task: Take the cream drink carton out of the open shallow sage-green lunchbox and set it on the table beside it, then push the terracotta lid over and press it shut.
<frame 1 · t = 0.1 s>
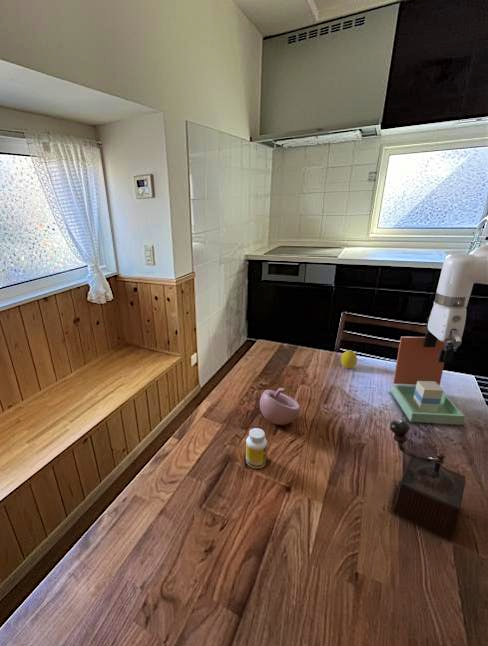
hand: (436, 354, 100), 18 cm above the table, tool pointing down, fingers open, 9 cm apart
lunchbox lid: (420, 361, 108), point 12 cm above the table, hinge at 95.4°
mortar and pestle: (278, 420, 106), on the table
supplement bottle: (256, 461, 91), on the table
manual coffee grinder: (410, 503, 77), on the table
lunchbox: (423, 409, 106), on the table
lemon: (347, 369, 131), on the table
drink carton: (424, 406, 106), point 1 cm above the table, touching lunchbox
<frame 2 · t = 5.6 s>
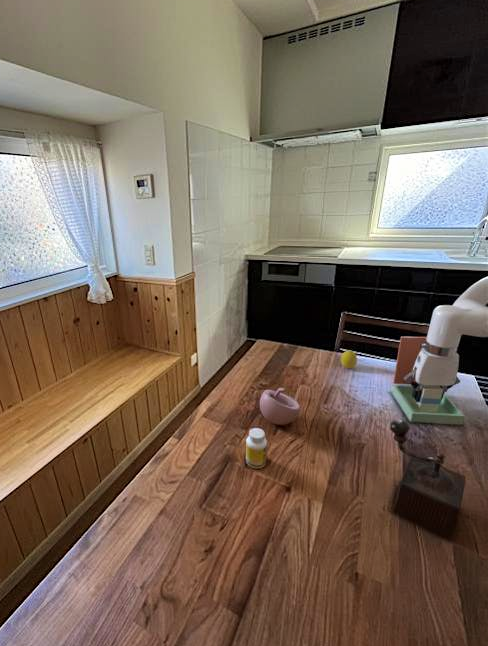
hand: (426, 399, 104), 4 cm above the table, tool pointing down, fingers closed on drink carton, 5 cm apart
drink carton: (424, 406, 106), point 1 cm above the table, touching gripper, lunchbox
everything else where it was.
when the fingers open (3 cm above the table, at t = 12.3 s): drink carton stays where it is, on the table.
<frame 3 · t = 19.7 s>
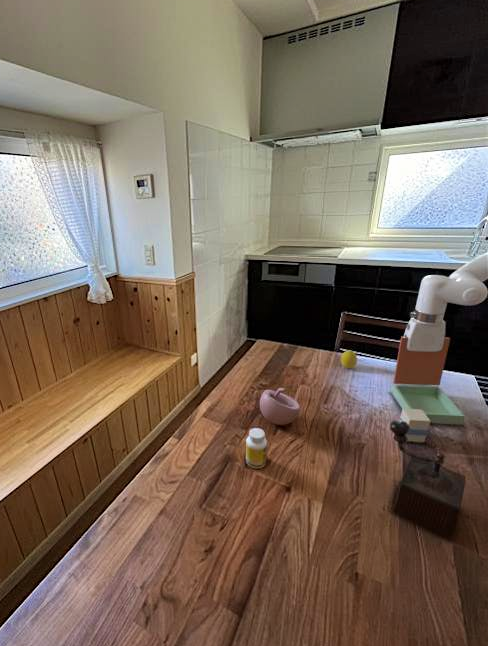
hand: (415, 367, 111), 9 cm above the table, tool pointing down, fingers closed
lunchbox lid: (420, 361, 108), point 12 cm above the table, hinge at 94.5°, touching gripper
drink carton: (410, 437, 95), on the table
everything else where it was.
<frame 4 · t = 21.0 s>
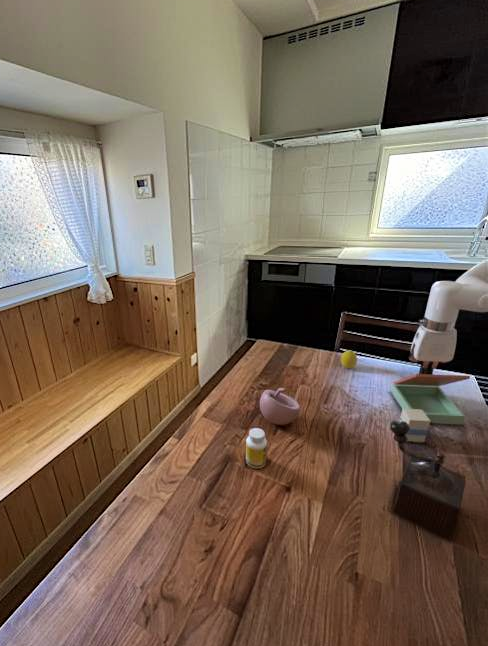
hand: (424, 377, 106), 9 cm above the table, tool pointing down, fingers closed
lunchbox lid: (428, 380, 103), point 10 cm above the table, hinge at 40.5°, touching gripper
everything else where it was.
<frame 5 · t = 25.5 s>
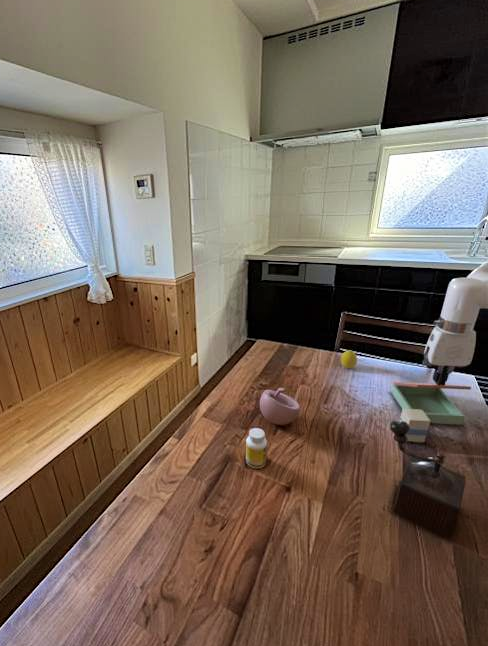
hand: (438, 382, 97), 12 cm above the table, tool pointing down, fingers closed
lunchbox lid: (428, 385, 103), point 8 cm above the table, hinge at 29.9°, touching gripper
everything else where it was.
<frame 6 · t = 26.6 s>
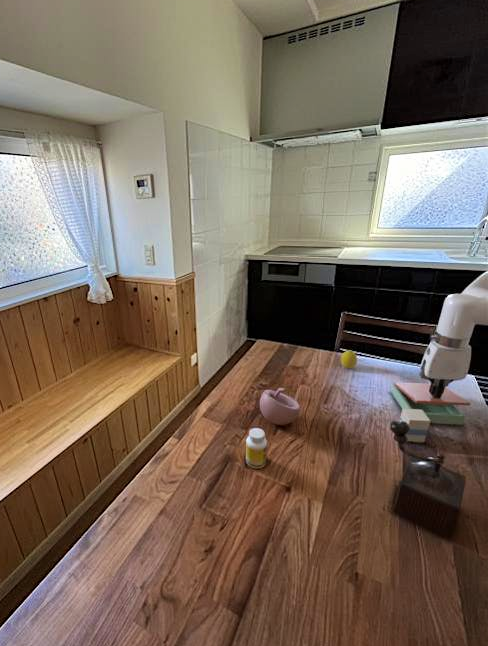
hand: (434, 395, 99), 8 cm above the table, tool pointing down, fingers closed
lunchbox lid: (428, 392, 103), point 6 cm above the table, hinge at 13.9°, touching gripper
everything else where it was.
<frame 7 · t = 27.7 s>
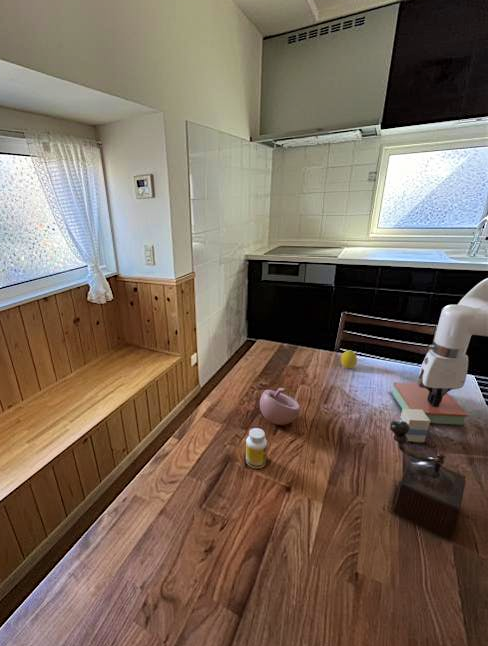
hand: (433, 403, 100), 5 cm above the table, tool pointing down, fingers closed
lunchbox lid: (427, 398, 104), point 4 cm above the table, hinge at 1.1°, touching gripper
everything else where it was.
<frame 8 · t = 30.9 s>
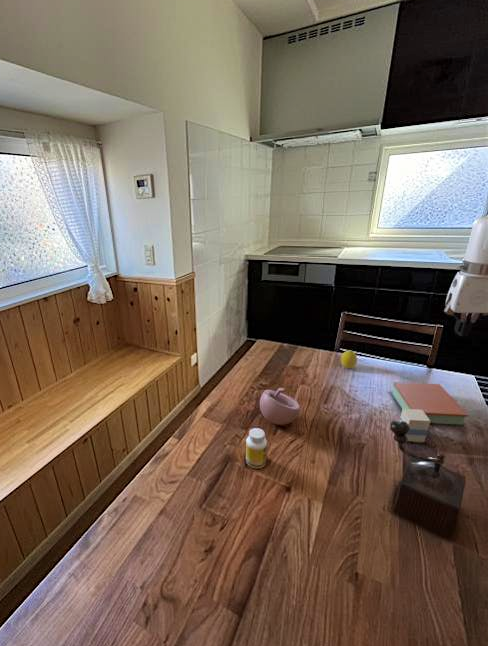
hand: (460, 333, 92), 27 cm above the table, tool pointing down, fingers closed
lunchbox lid: (427, 398, 104), point 4 cm above the table, hinge at 1.1°
everything else where it was.
at the end: drink carton inside the target area (0.0 cm from its centre), on the table; drink carton tilted 0°; lunchbox lid at +1° (first picture: +95°) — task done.
